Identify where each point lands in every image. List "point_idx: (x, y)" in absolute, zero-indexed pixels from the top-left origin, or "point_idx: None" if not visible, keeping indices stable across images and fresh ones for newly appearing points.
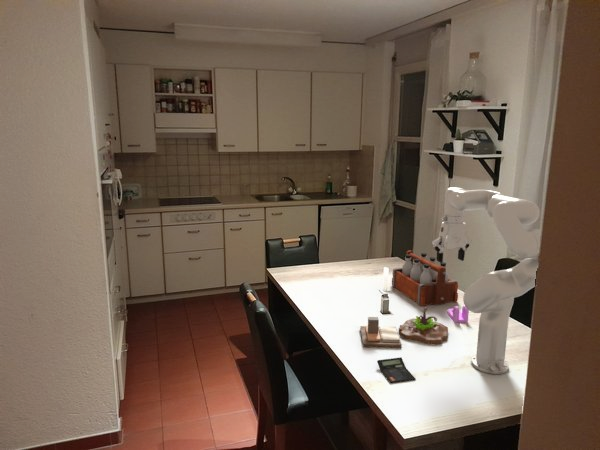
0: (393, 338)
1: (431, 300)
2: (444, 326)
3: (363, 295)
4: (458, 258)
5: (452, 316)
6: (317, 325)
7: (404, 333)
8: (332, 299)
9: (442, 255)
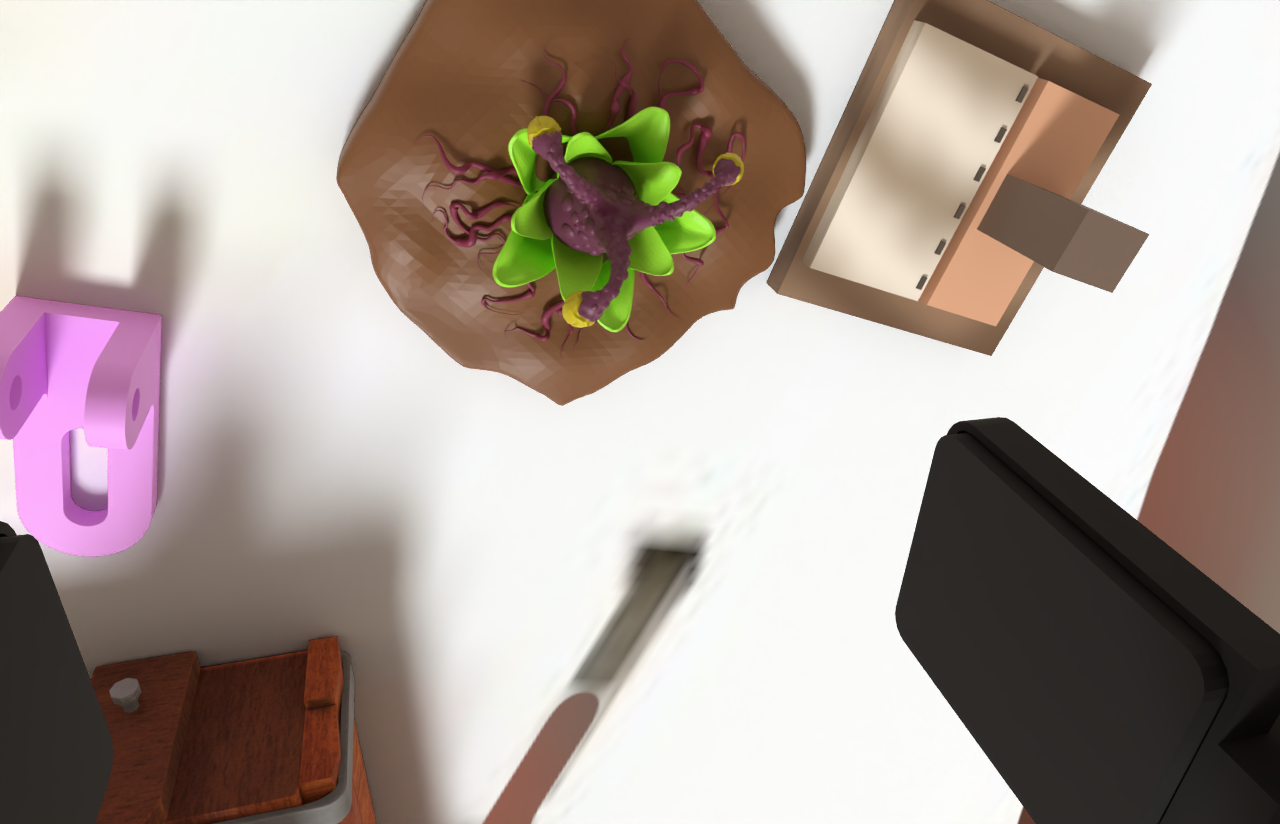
0: (953, 63)
1: (229, 688)
2: (378, 173)
3: (664, 794)
4: (100, 734)
5: (154, 403)
6: (1151, 441)
7: (794, 151)
8: (868, 745)
9: (1169, 587)
